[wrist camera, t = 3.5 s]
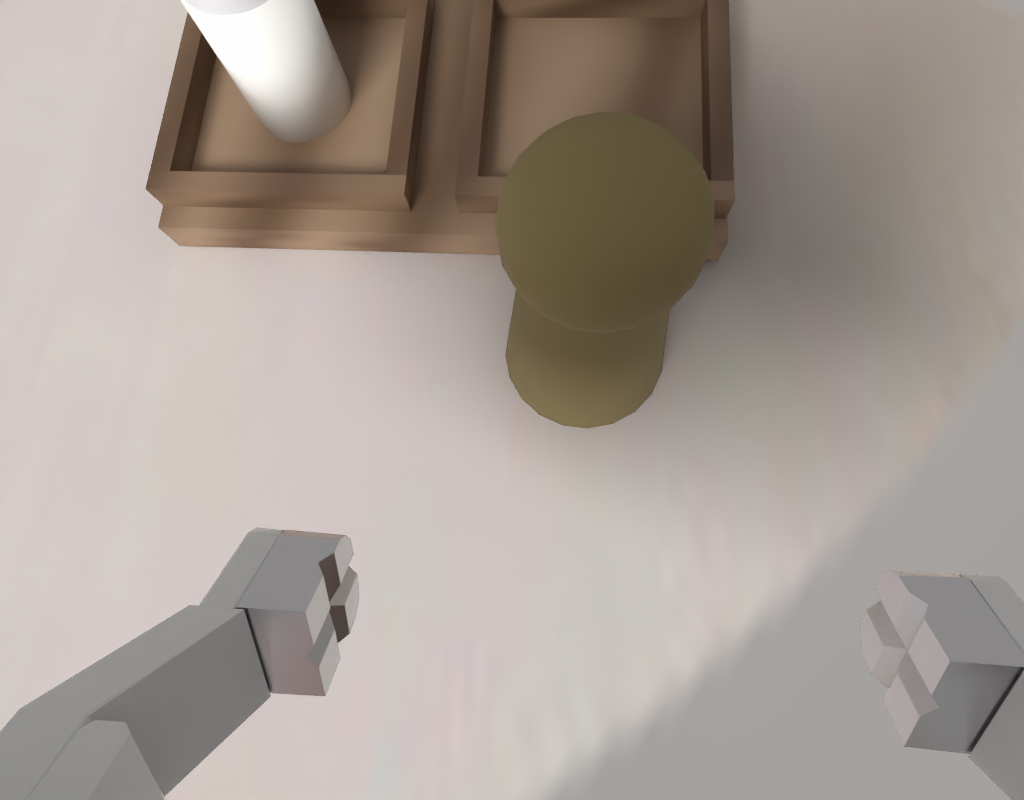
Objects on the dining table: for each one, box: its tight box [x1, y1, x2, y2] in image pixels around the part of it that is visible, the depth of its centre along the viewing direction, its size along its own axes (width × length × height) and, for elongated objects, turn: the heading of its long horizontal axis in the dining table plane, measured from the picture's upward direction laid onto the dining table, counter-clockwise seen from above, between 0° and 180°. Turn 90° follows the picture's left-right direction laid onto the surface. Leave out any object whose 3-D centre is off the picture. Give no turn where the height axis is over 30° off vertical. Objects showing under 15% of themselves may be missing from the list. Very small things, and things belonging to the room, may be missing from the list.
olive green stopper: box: [495, 112, 714, 428], centre depth 19 cm, size 6×6×11 cm
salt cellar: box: [181, 0, 352, 143], centre depth 22 cm, size 4×4×8 cm
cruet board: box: [146, 0, 734, 260], centre depth 26 cm, size 22×12×3 cm, turn 86°
